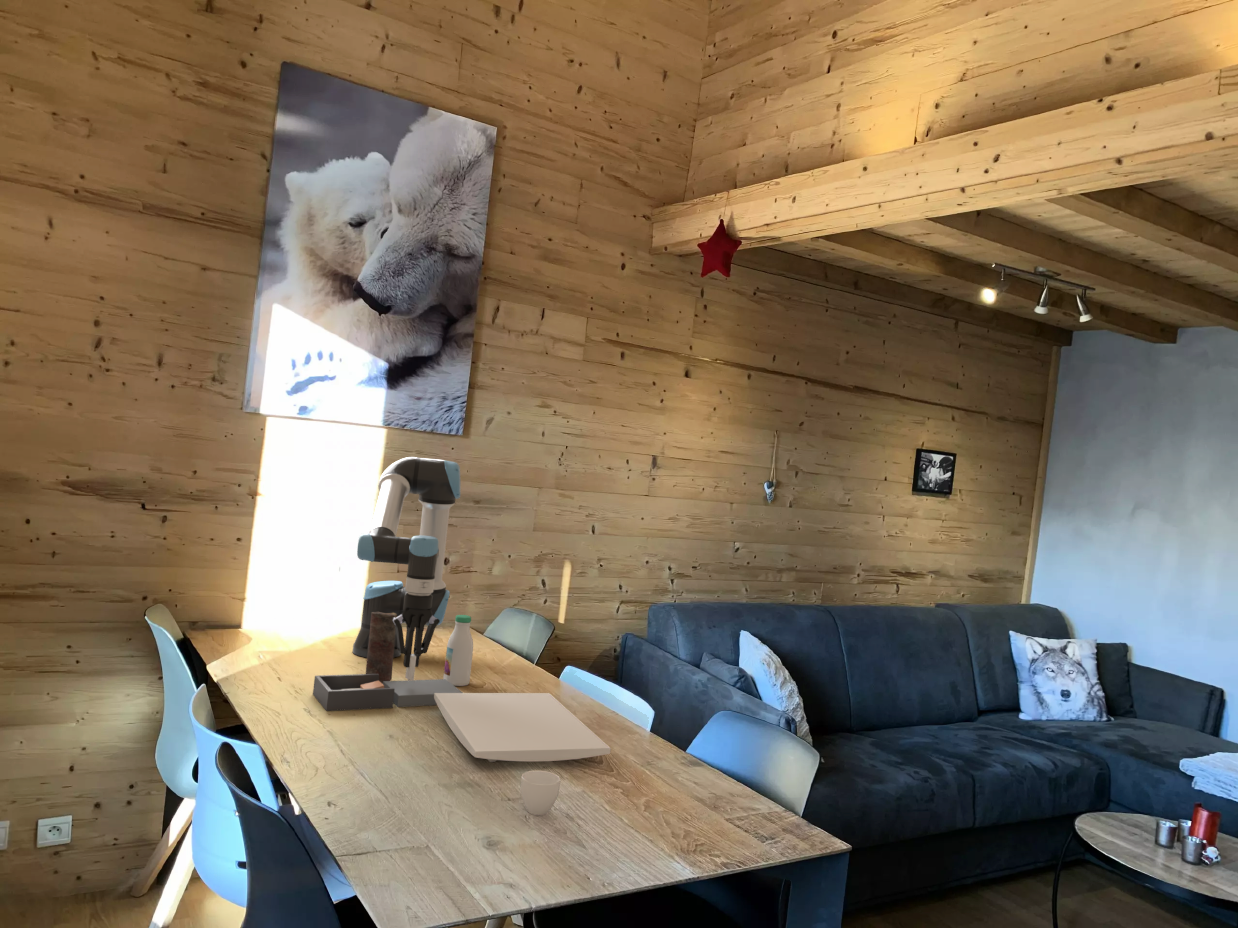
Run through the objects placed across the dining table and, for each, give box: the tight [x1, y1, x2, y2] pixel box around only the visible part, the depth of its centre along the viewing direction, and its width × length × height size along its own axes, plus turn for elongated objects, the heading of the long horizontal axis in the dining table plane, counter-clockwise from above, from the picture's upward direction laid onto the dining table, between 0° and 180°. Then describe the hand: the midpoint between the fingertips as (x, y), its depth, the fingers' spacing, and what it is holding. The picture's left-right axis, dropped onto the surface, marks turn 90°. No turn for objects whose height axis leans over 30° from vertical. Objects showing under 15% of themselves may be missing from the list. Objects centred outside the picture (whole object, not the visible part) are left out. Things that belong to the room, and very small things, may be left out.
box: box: [312, 673, 395, 712], centre depth 237 cm, size 15×17×5 cm
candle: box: [365, 612, 397, 684], centre depth 259 cm, size 8×7×20 cm
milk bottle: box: [443, 614, 474, 687], centre depth 266 cm, size 8×8×20 cm
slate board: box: [383, 678, 464, 708], centre depth 247 cm, size 14×18×3 cm
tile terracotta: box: [360, 681, 384, 689], centre depth 240 cm, size 5×5×2 cm
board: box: [434, 692, 612, 763], centre depth 223 cm, size 45×32×5 cm
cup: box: [520, 769, 561, 816], centre depth 180 cm, size 8×10×7 cm
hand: (409, 678), depth 245 cm, fingers closed
